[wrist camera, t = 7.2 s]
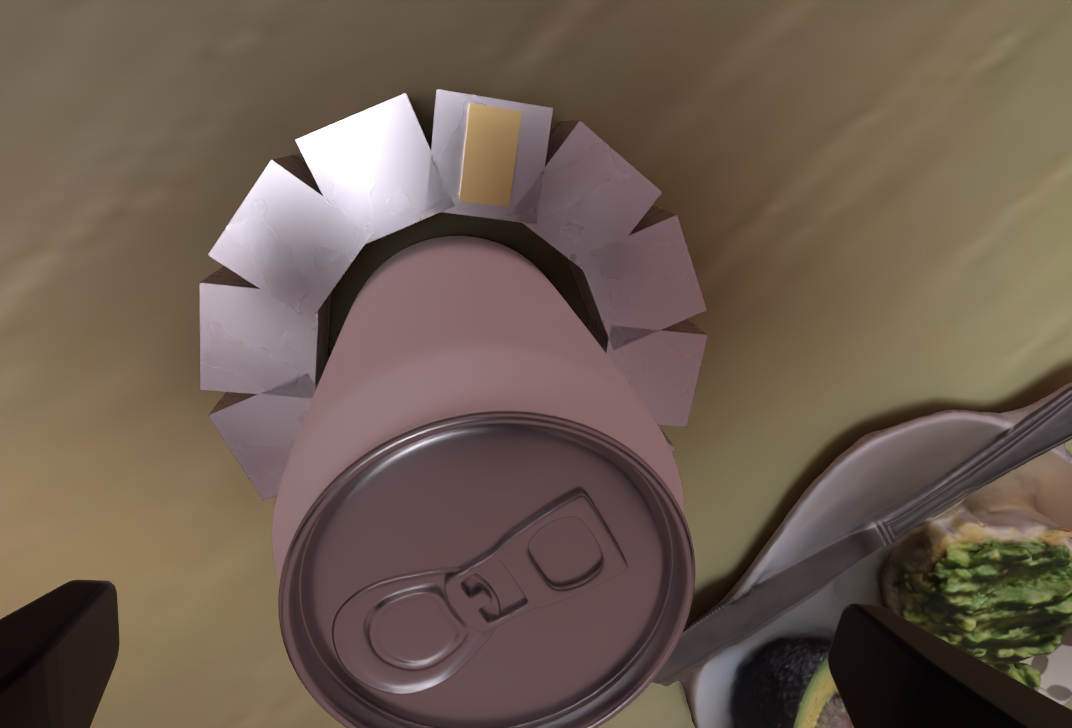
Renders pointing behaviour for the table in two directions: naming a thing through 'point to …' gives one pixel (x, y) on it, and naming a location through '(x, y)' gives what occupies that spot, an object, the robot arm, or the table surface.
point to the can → (477, 509)
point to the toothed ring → (408, 197)
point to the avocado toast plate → (901, 566)
